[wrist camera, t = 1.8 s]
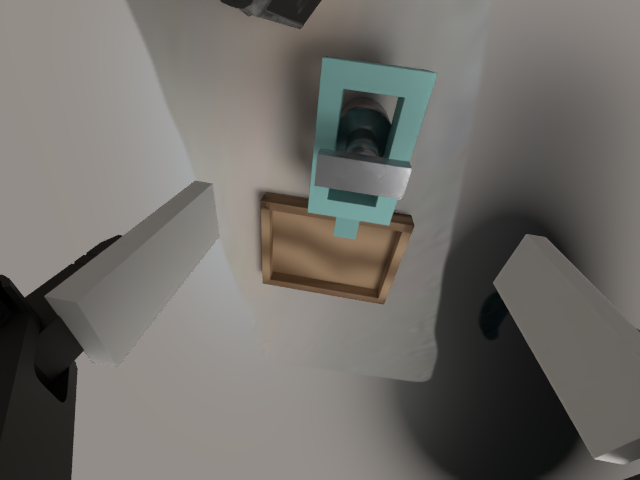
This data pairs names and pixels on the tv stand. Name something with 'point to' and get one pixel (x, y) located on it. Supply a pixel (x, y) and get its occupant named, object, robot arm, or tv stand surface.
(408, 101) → the teal rectangular frame
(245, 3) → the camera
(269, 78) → the tv stand surface
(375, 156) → the mallet
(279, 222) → the tray
